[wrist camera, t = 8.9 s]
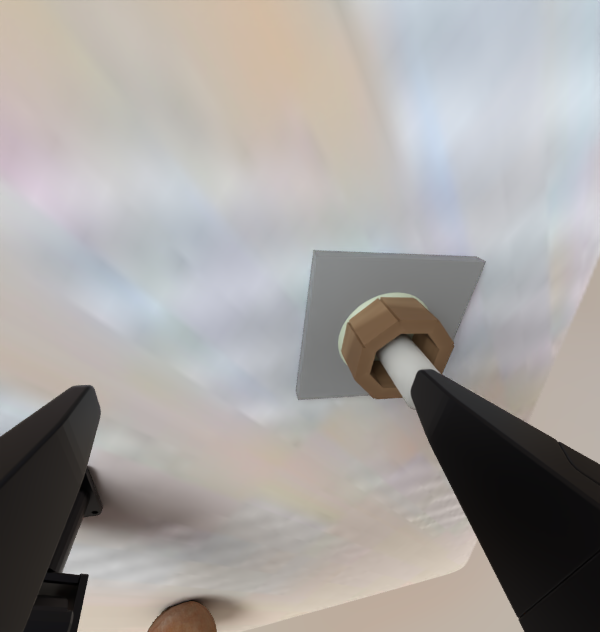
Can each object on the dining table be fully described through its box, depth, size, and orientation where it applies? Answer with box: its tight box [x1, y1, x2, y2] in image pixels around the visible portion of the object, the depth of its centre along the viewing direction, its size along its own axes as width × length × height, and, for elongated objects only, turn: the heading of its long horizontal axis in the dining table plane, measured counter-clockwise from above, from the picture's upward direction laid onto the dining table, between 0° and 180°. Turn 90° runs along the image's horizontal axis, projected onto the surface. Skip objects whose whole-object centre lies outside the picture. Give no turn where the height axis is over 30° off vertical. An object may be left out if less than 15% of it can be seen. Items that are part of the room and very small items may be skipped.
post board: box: [296, 250, 486, 410], centre depth 21 cm, size 12×12×7 cm
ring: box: [341, 297, 454, 399], centre depth 22 cm, size 6×6×3 cm
